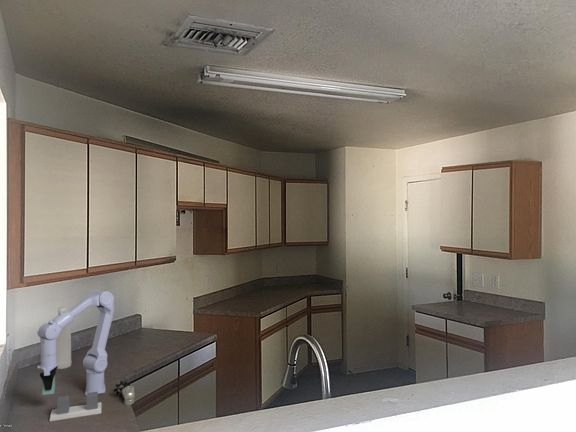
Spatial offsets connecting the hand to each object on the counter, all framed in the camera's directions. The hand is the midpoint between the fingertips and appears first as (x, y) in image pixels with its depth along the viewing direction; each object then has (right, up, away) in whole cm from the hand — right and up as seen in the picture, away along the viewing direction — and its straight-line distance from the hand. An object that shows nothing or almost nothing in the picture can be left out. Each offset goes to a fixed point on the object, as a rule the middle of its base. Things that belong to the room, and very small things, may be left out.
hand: (49, 387), depth 184 cm
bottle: (-19, -8, +49) cm, 53 cm away
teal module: (0, -2, 0) cm, 2 cm away
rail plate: (+14, -8, -4) cm, 16 cm away
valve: (+28, -8, +7) cm, 31 cm away
